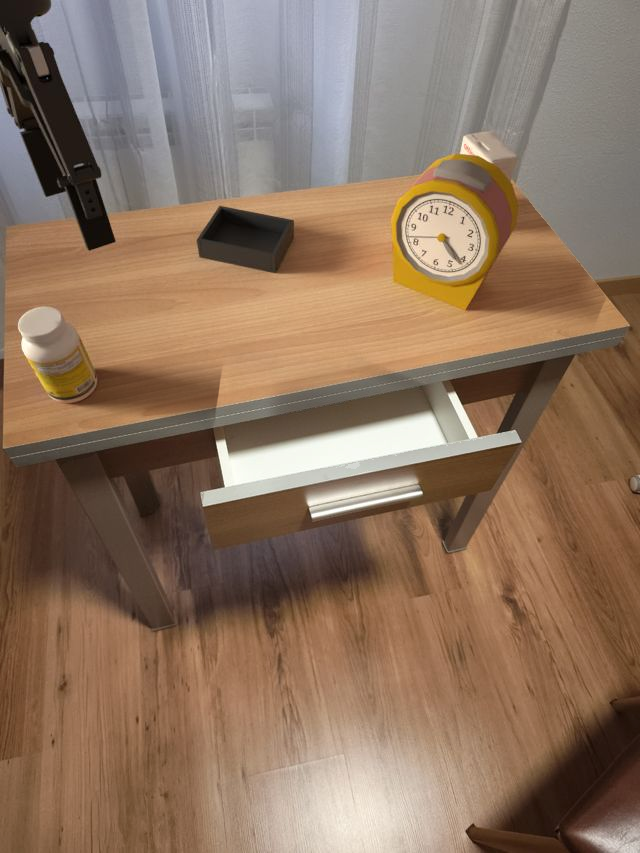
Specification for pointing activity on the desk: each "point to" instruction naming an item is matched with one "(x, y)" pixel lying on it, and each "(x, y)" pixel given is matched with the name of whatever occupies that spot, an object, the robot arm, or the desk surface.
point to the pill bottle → (57, 355)
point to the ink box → (490, 151)
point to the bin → (246, 239)
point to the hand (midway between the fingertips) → (78, 217)
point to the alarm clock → (452, 228)
